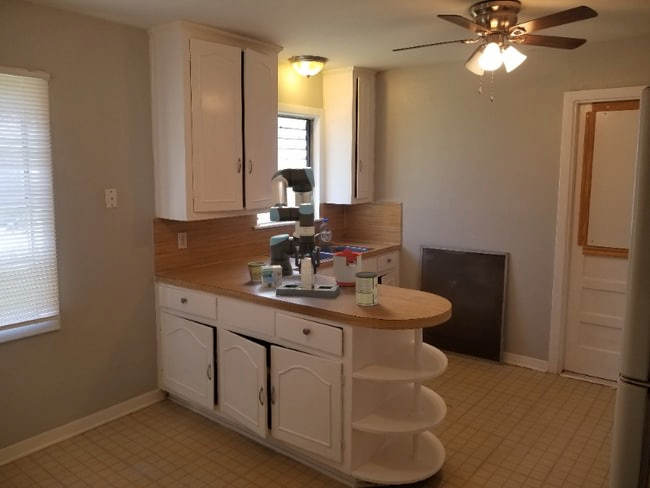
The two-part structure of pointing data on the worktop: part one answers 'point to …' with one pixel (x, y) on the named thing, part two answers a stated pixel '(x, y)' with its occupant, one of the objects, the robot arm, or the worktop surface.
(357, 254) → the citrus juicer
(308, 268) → the beige square block
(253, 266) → the ceramic cup
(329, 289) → the grey flat slotted block
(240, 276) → the worktop surface
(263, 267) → the light bulb box
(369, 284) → the coffee can
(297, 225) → the robot arm
